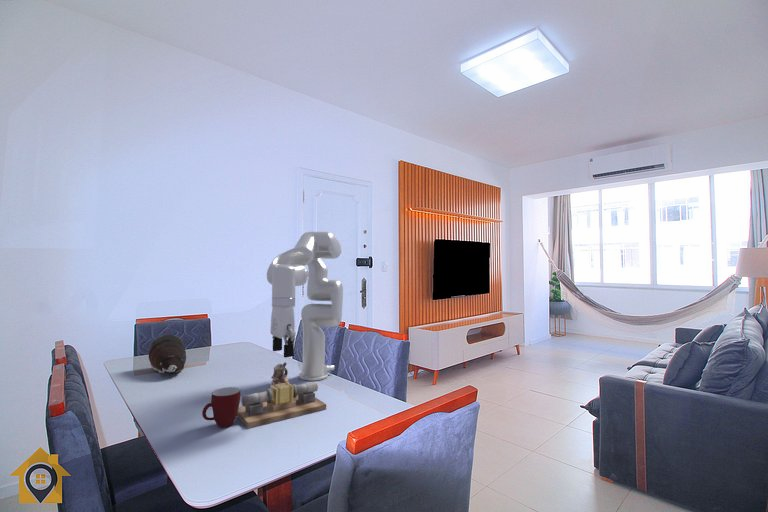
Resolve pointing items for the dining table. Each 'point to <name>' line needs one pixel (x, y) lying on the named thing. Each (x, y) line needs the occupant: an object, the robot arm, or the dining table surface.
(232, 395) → the mug
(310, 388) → the shaft jig
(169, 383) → the dining table surface
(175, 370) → the clay pot
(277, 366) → the figurine
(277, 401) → the block
